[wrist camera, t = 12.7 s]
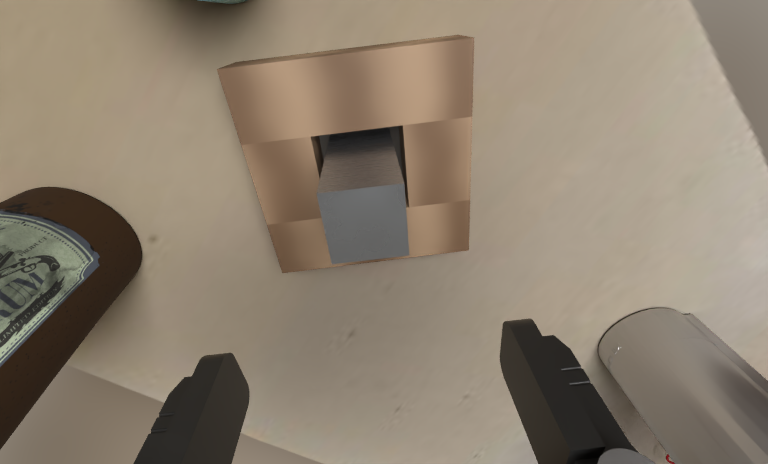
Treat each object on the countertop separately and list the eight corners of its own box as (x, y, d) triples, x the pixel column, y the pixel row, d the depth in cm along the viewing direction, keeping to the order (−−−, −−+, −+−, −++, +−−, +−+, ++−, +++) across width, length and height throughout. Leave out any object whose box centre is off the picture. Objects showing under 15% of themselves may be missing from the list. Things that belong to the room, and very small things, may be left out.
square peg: (388, 125, 25) (404, 183, 16) (392, 179, 27) (409, 255, 18) (330, 132, 25) (316, 193, 16) (340, 185, 27) (331, 264, 18)
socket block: (458, 35, 22) (474, 37, 19) (457, 226, 29) (468, 250, 26) (235, 62, 22) (216, 69, 19) (290, 247, 29) (282, 272, 26)
